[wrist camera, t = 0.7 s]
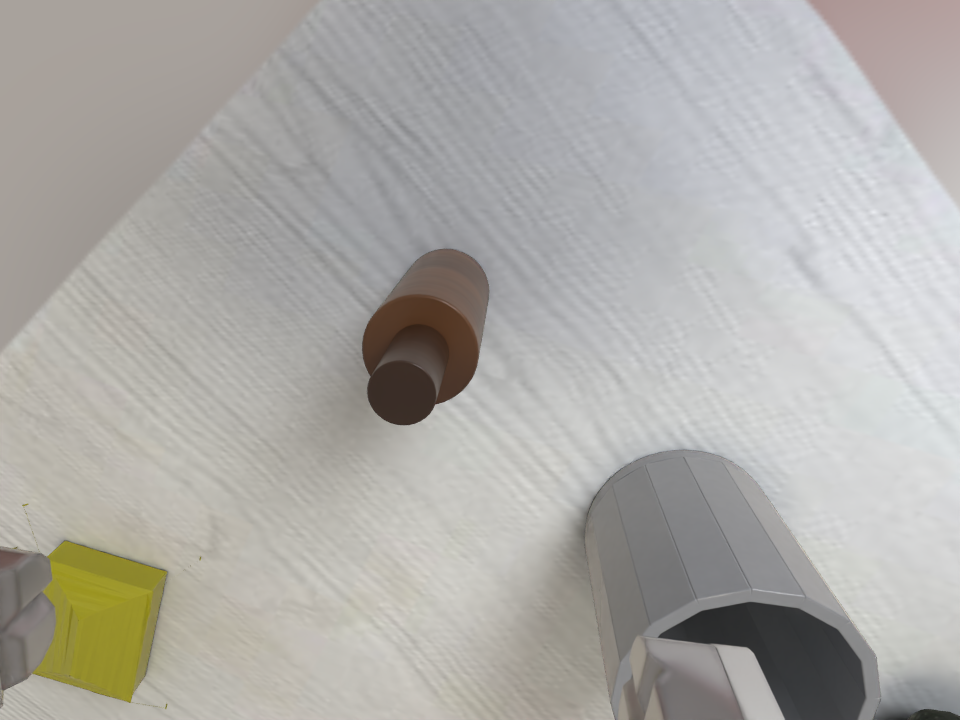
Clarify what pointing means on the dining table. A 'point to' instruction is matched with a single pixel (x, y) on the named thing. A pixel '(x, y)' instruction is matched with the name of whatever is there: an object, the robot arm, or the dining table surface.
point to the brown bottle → (426, 336)
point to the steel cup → (721, 584)
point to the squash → (933, 715)
